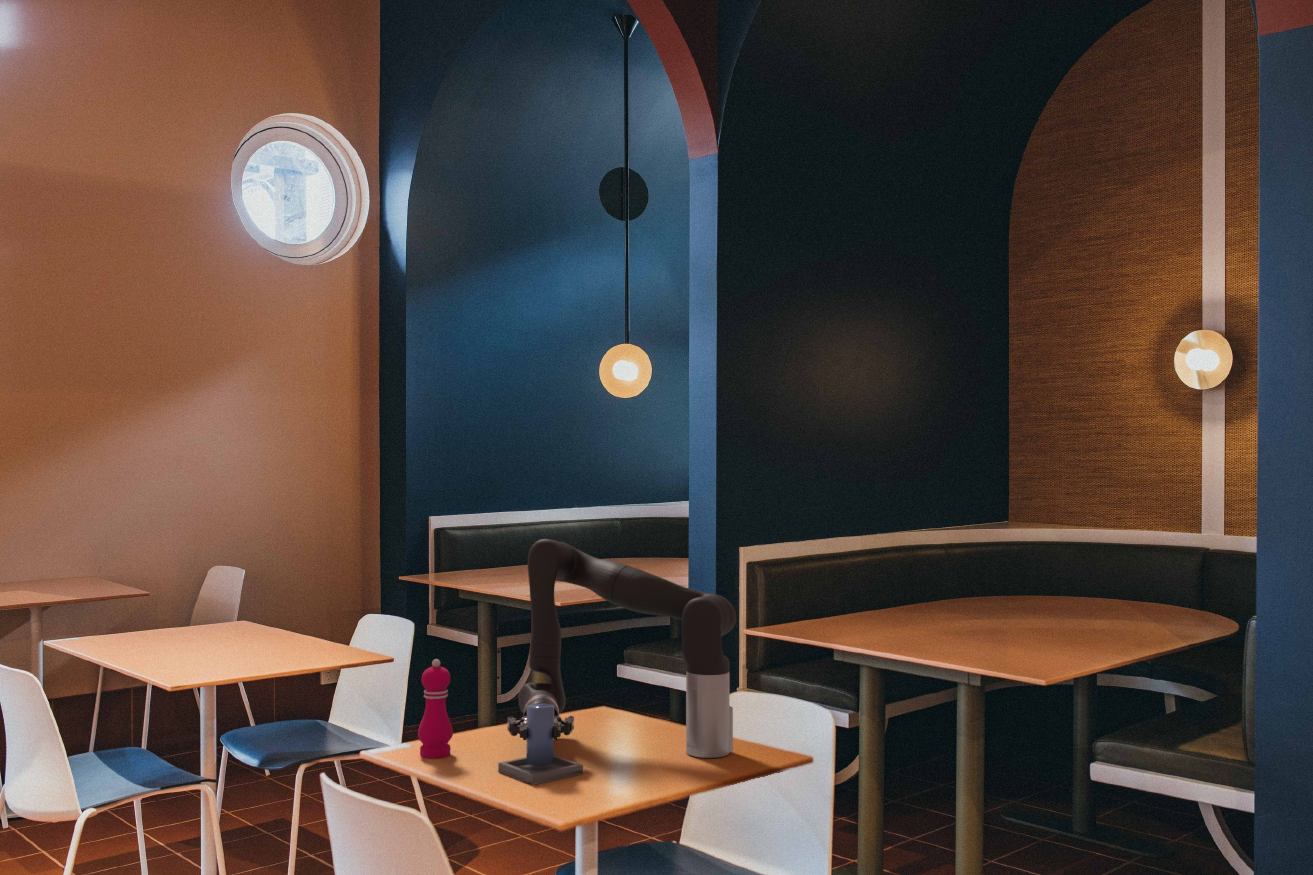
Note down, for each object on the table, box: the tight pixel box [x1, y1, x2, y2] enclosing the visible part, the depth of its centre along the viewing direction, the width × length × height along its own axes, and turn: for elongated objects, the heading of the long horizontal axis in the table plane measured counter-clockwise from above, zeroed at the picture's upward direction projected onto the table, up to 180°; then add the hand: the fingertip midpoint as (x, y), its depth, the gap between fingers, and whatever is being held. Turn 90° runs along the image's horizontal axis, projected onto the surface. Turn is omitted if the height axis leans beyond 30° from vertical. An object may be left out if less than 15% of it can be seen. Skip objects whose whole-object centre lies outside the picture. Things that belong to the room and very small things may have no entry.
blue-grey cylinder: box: [525, 703, 555, 766], centre depth 214 cm, size 5×5×11 cm
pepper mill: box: [417, 658, 454, 759], centre depth 228 cm, size 7×7×20 cm
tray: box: [497, 754, 584, 786], centre depth 214 cm, size 12×12×2 cm
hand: (540, 734), depth 212 cm, fingers closed on blue-grey cylinder, 5 cm apart
